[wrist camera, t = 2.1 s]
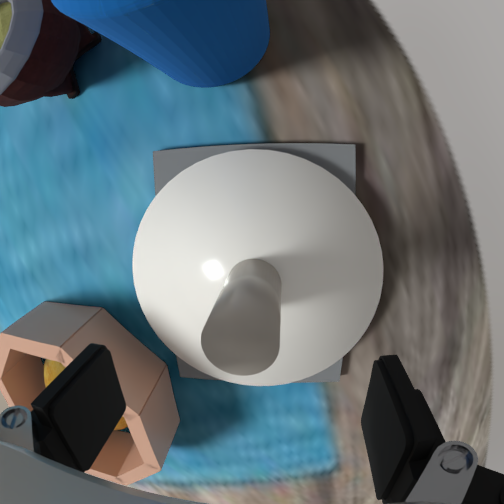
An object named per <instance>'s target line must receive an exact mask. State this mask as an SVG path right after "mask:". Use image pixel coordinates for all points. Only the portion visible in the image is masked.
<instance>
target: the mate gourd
mask: <svg viewBox="0 0 504 504" xmlns="http://www.w3.org/2000/svg"><path fill="white" fill-rule="evenodd" d="M100 42H101V36H100V35H99V34H98V33H97V32H95V33H93V34H91V33H90V31H89V30H88V28H87V27H86V26H85V25H84V24H82V23H80V22H78V21H76V20H74V19H72V18H70V17H69V16H67V15H65V14H63V13H62V12H60V11H59V10H58V9H57V8H56V7H55V6H54V5H53V3H52V1H51V0H0V106H4V107H8V106H16V105H19V104H23V103H26V102H30V101H33V100H36V99H39V98H41V97H43V96H48V97H52V96H58V95H62V94H67V96H68V98H69V99H70V98H72V99H73V98H75V97H77V96H78V95H79V93H80V90H79V86H78V83H77V80H76V77H75V73H74V70H73V64H74V62H75V61H76V60H77V59H78V58H79V57H81V56H82V55H83V54H85V53H86V52H87V51H89V50H90V49H92V48H93V47H94V46H96V45H97V44H98V43H100Z"/></svg>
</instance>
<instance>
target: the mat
mask: <svg viewBox="0 0 504 504" xmlns="http://www.w3.org/2000/svg"><path fill="white" fill-rule="evenodd" d="M246 149H260V150H272V151H278V152H284V153H288V154H291V155H294V156H298V157H301V158H304V159H306V160H308V161H310V162H312V163H314V164H316V165H318V166H320V167H322V168H324V169H325V170H327V171H328V172H330V173H331V174H332V175H334V176H335V177H337V178H338V179H339V180H340V181H341V182H342V183H344V184H345V185H346V186H347V187H348V188H349V189H350V190H351V191H352V192H353V193H354V195H355V186H356V158H355V144H325V143H270V144H240V145H221V146H206V147H193V148H181V149H171V150H161V151H153V163H154V180H155V195H157V194H158V193H159V192H160V191H161V190H162V188H163V187H164V186H165V185H166V184H167V183H168V182H169V181H170V180H172V179H173V178H174V177H175V176H177V175H178V174H179V173H180V172H182V171H183V170H185V169H187V168H188V167H190V166H192V165H193V164H195V163H197V162H199V161H202V160H204V159H206V158H209V157H211V156H214V155H218V154H222V153H226V152H230V151H237V150H246ZM176 358H177V363H178V368H179V373H180V377H187V378H198V379H210V380H221V379H218V378H215V377H212V376H210V375H208V374H205V373H203V372H201V371H199V370H197V369H196V368H194V367H192V366H191V365H189V364H187V363H186V362H185V361H183V360H182V359H181V358H179V357H178V356H177V355H176ZM342 360H343V357H342V358H341V359H340V360H338V361H337V362H335V363H334V364H333V365H331V366H330V367H328V368H327V369H325V370H323V371H321V372H319V373H317V374H315V375H313V376H310V377H307V378H305V379H302V380H299V381H295V382H291V383H297V382H337V381H339V380H340V374H341V367H342Z"/></svg>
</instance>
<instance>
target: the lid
mask: <svg viewBox="0 0 504 504" xmlns="http://www.w3.org/2000/svg"><path fill="white" fill-rule="evenodd" d="M133 278H134V285H135V289H136V293H137V297H138V300H139V303H140V305H141V308H142V311H143V313H144V315H145V317H146V319H147V320H148V322H149V324H150V326H151V327H152V329H153V330H154V331H155V333H156V334H157V336H158V337H159V338H160V339H161V340H162V342H163V343H164V344H165V345H166V346H167V347H168V348H169V349H170V350H171V351H172V352H173V353H174V354H176V355H177V356H178V357H179V358H181V359H182V360H183V361H185V362H186V363H187V364H189V365H191V366H192V367H194V368H196V369H197V370H199V371H201V372H203V373H205V374H208V375H210V376H212V377H215V378H218V379H221V380H224V381H227V382H232V383H237V384H242V385H252V386H273V385H280V384H287V383H291V382H295V381H299V380H302V379H305V378H307V377H310V376H313V375H315V374H317V373H319V372H321V371H323V370H325V369H327V368H328V367H330V366H331V365H333V364H334V363H335V362H337V361H338V360H340V359H341V358H342V357H343V356H344V355H345V354H347V353H348V352H349V351H350V350H351V349H352V348H353V347H354V345H355V344H356V343H357V342H358V341H359V340H360V338H361V337H362V335H363V334H364V333H365V331H366V330H367V328H368V326H369V324H370V322H371V320H372V318H373V316H374V314H375V312H376V309H377V306H378V303H379V300H380V296H381V290H382V285H383V258H382V250H381V246H380V242H379V238H378V235H377V232H376V230H375V227H374V225H373V222H372V220H371V218H370V216H369V215H368V213H367V211H366V210H365V208H364V206H363V205H362V203H361V202H360V201H359V200H358V198H357V197H356V196H355V195H354V193H353V192H352V191H351V190H350V189H349V188H348V187H347V186H346V185H345V184H344V183H342V182H341V181H340V180H339V179H338V178H337V177H335V176H334V175H332V174H331V173H330V172H328V171H327V170H325V169H324V168H322V167H320V166H318V165H316V164H314V163H312V162H310V161H308V160H306V159H304V158H301V157H298V156H294V155H291V154H288V153H284V152H278V151H272V150H260V149H246V150H237V151H230V152H226V153H222V154H218V155H214V156H211V157H209V158H206V159H204V160H202V161H199V162H197V163H195V164H193V165H192V166H190V167H188V168H187V169H185V170H183V171H182V172H180V173H179V174H178V175H177V176H175V177H174V178H173V179H172V180H170V181H169V182H168V183H167V184H166V185H165V186H164V187H163V188H162V190H161V191H160V192H159V193H158V194H157V195H156V197H155V198H154V200H153V201H152V202H151V204H150V205H149V207H148V208H147V210H146V212H145V214H144V216H143V219H142V221H141V223H140V226H139V229H138V232H137V235H136V239H135V244H134V250H133Z"/></svg>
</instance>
